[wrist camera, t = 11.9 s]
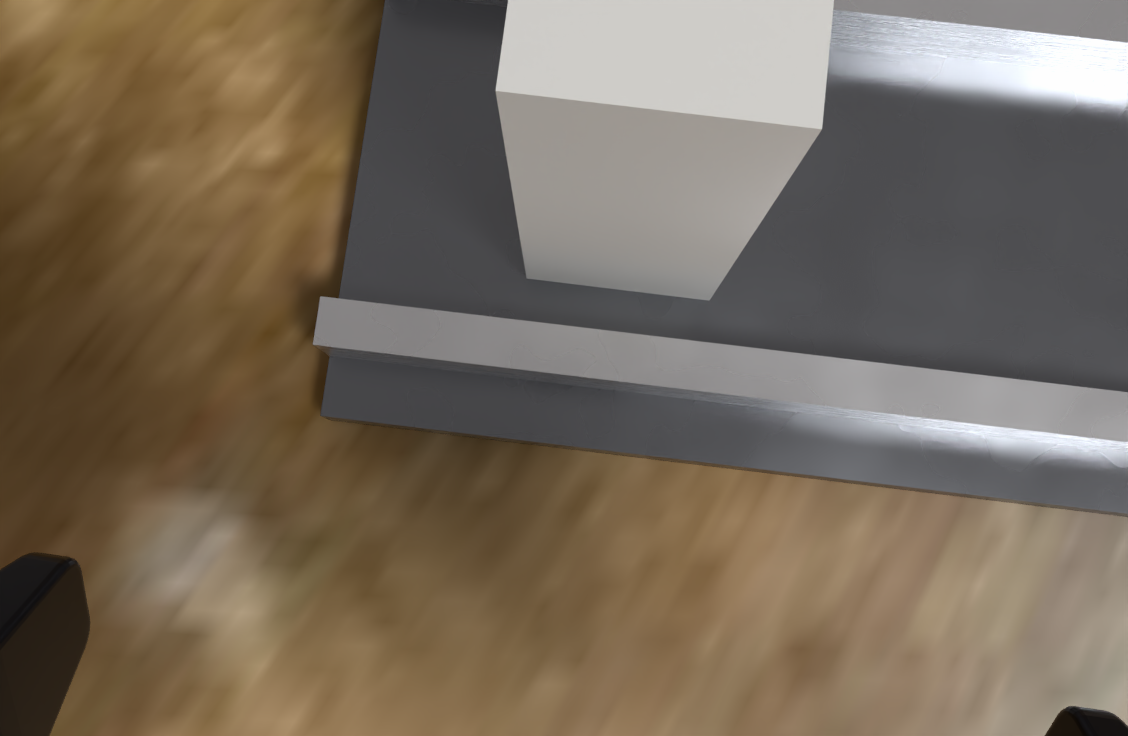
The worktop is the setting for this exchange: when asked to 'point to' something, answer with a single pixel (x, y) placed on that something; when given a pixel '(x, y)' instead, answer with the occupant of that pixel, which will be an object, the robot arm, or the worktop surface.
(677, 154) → the block
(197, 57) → the worktop surface
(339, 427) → the worktop surface
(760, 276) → the rail plate
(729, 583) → the worktop surface
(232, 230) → the worktop surface
